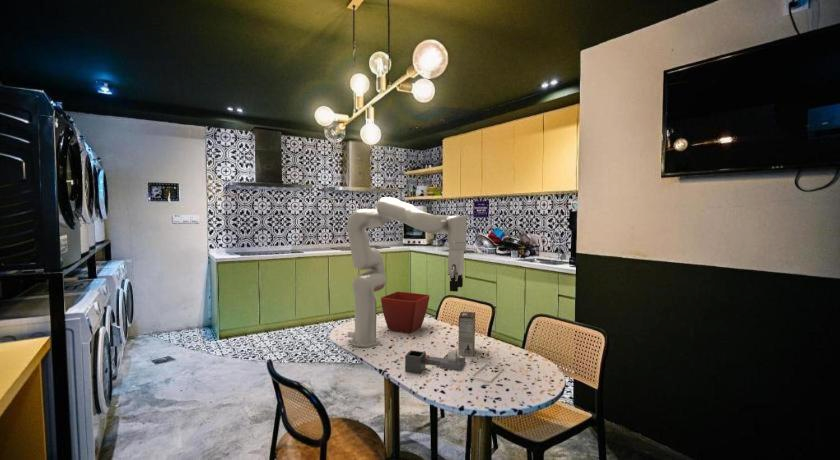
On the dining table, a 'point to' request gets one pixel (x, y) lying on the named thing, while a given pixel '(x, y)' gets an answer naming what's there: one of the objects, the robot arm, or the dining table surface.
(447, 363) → the ratchet
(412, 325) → the plant pot
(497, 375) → the phone case
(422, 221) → the robot arm
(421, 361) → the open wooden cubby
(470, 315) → the coffee box
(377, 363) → the dining table surface
